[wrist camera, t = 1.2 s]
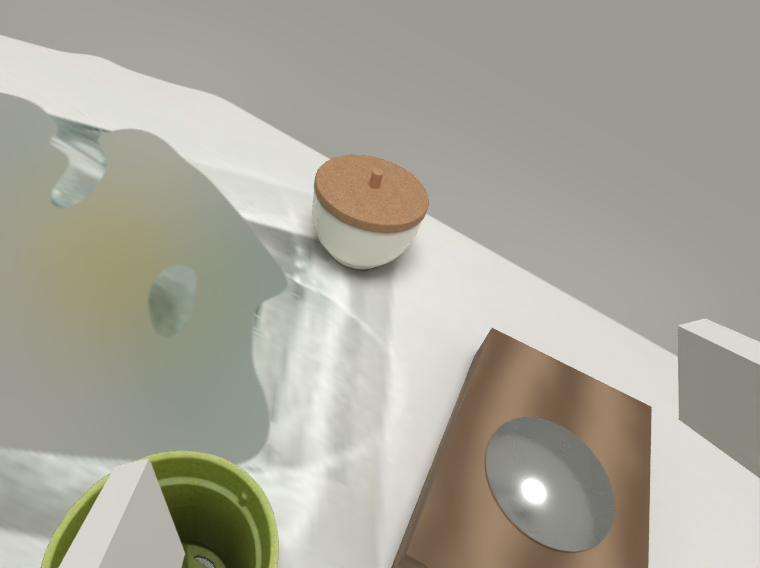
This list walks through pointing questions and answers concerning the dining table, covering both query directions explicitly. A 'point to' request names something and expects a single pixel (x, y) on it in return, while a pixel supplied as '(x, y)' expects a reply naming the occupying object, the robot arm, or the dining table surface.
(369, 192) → the lidded jar
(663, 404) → the dining table surface
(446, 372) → the dining table surface
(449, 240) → the dining table surface
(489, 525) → the walnut base
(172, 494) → the plant pot
